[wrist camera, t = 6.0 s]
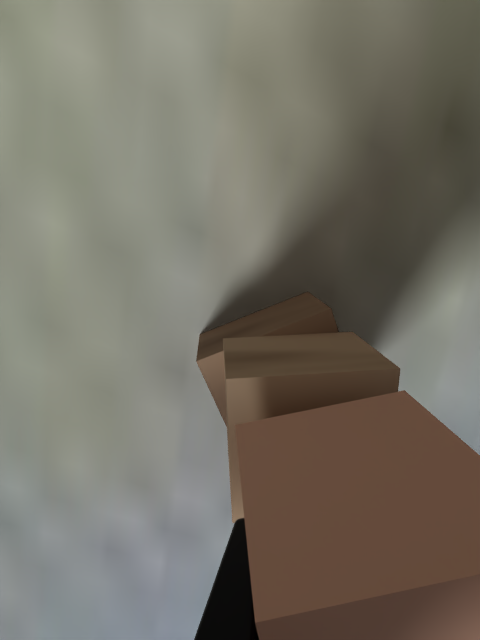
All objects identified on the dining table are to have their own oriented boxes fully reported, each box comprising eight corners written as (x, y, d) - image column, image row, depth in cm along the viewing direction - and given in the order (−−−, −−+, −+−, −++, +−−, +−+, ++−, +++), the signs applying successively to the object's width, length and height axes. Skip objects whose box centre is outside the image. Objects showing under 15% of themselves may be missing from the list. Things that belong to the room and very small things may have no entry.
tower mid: (345, 443, 14) (384, 509, 11) (228, 451, 14) (232, 522, 11) (352, 331, 13) (400, 368, 10) (223, 338, 13) (225, 379, 9)
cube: (411, 524, 10) (560, 751, 6) (262, 556, 10) (300, 809, 6) (404, 390, 9) (588, 549, 4) (234, 424, 9) (255, 622, 4)
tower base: (338, 387, 18) (368, 425, 14) (240, 424, 18) (247, 471, 14) (306, 291, 16) (331, 308, 13) (199, 333, 16) (196, 361, 13)
